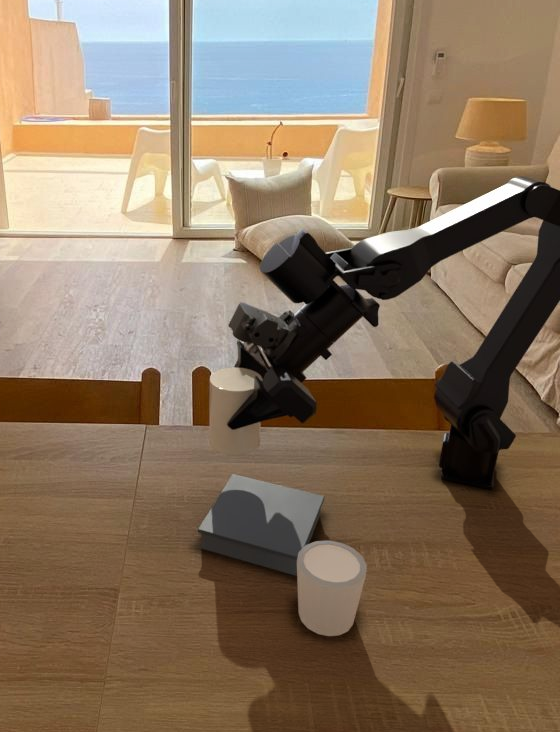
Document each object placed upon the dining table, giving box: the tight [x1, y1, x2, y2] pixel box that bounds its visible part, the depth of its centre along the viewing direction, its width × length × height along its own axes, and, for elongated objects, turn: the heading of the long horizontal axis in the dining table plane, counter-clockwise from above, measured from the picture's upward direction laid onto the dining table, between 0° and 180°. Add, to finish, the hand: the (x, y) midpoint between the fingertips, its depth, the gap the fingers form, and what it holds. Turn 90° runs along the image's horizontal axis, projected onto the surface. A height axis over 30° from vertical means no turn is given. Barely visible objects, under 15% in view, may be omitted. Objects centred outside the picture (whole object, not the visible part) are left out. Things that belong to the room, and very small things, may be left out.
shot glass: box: [296, 540, 368, 637], centre depth 70 cm, size 7×7×7 cm
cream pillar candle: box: [208, 367, 263, 457], centre depth 86 cm, size 6×6×9 cm
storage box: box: [197, 473, 326, 577], centre depth 83 cm, size 12×12×3 cm
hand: (224, 413), depth 86 cm, fingers closed on cream pillar candle, 6 cm apart
